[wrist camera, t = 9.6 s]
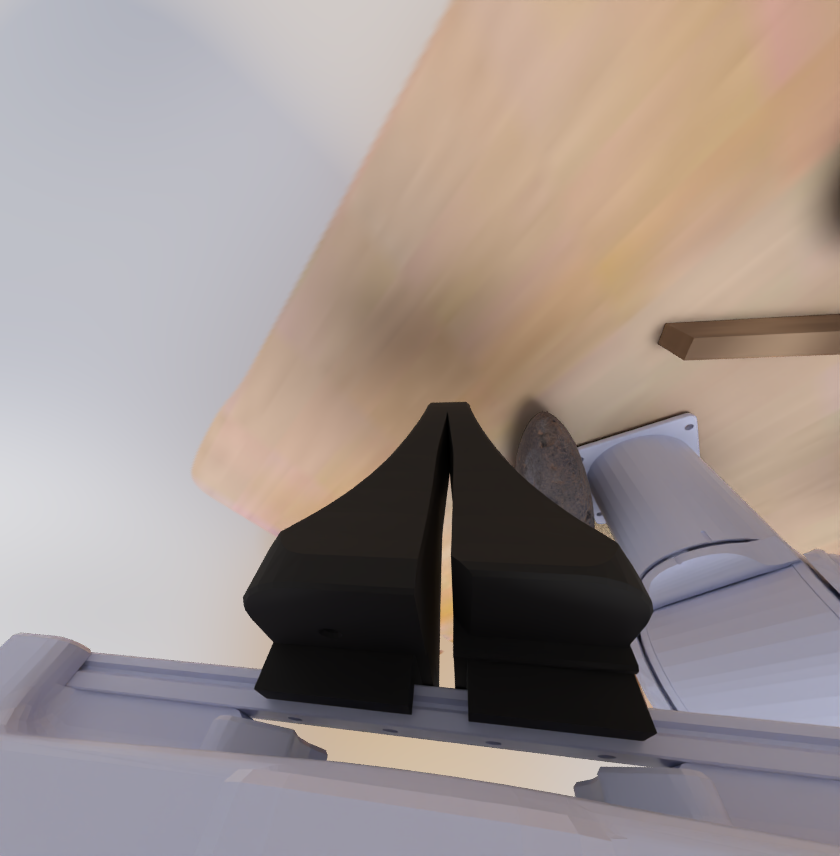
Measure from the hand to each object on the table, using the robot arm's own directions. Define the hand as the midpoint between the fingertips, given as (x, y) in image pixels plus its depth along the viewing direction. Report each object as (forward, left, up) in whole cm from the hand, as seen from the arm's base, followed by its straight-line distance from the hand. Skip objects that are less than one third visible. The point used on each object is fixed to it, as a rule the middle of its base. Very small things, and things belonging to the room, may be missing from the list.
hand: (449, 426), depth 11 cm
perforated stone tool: (-14, -2, -10) cm, 17 cm away
